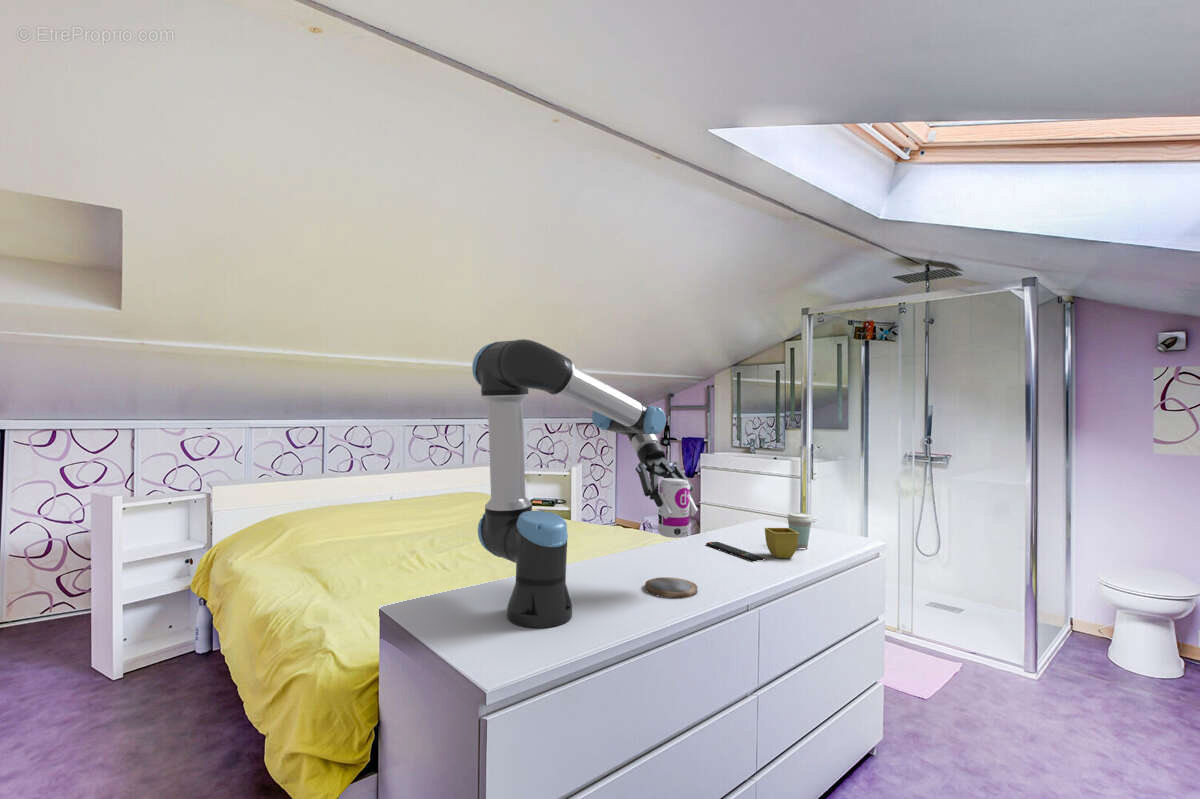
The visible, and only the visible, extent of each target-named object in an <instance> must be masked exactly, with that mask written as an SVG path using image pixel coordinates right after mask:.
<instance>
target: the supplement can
mask: <svg viewBox="0 0 1200 799" xmlns="http://www.w3.org/2000/svg"><path fill="white" fill-rule="evenodd" d="M688 480H689V479H688ZM688 480H686V479H680V478H664V477H663V478H662V479H661V481H660V483H659V484H658V489H659V492H658V494H659V493H661V492H662V494H663V496H664V498H665V500H666V502H667V504H668V506H669V508H670V510H671V512H672V513H671V514H670V516H669V517H668V518H667V519H665V518H664V516H663V514H662V512H661V510H660V508H659V507H658V522H657V523H658V524H657V525H658V526H657V527H658V528H657V530H658V531H657V532H658V533H659V534H660V535H661V536H663V537H667V538H672V539H673V538H674V539H675V538H676V539H677V538H678V539H679V538H685V537H686V536H688V535H689V533H690V513H689V504H690V493H691V492H690V485H689V483H688Z"/></svg>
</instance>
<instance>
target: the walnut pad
mask: <svg viewBox="0 0 1200 799" xmlns="http://www.w3.org/2000/svg"><path fill="white" fill-rule="evenodd" d="M644 586H645V591H646V590H647V591H648V592H647V591H646V592H647V593H649V594H651V595H653V594H654V595H653V596H656V595H659V596H658V597H660V596H663V597H662V598H665V597H672V598H671V599H686V598H685V597H687V598H691V597H693V596H695V595H696V594H697V593H698V585H697V584H696V583H695V582H694V581H690V580H688V579H684V578H677V577H665V576H664V577H656V578H651V579H649V580H648V579H647V581H645V584H644ZM683 597H684V598H683Z"/></svg>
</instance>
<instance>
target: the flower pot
mask: <svg viewBox="0 0 1200 799" xmlns="http://www.w3.org/2000/svg"><path fill="white" fill-rule="evenodd" d="M764 534H765V543H766V546H767V549H768V551H769V553H770V554H771V556H773V555H774V556H773V557H775V558H776V557H778V558H777V559H791V558H793V556H794V554H795V553H796V551H797V550H798V549H797V544H798V537H799V533H798V532H796V531H794V530H792V529H790V528H789V527H764Z"/></svg>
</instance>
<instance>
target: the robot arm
mask: <svg viewBox="0 0 1200 799" xmlns="http://www.w3.org/2000/svg"><path fill="white" fill-rule="evenodd" d="M472 360H473V361H472V366H471V368H472V375H473V378H474V379H475V381H476V383H477V384H478V385H479V386H480V389H481V390H480V392H481V393H480V395H481V396H480V397H481V398H482V399H483V400H485V401H484V402H486V403H487V412H488V414H487V415H488V419H487V421H488V444H489V446H488V449H489V479H490V499H489V501H487V502H486V504H485V505H484V513H483V514H482V517H481V518H480V519H479V522H478V526H477V535H478V540H479V542H480V544H481V546H482V547H483V548H484V549H485V550H486V551H487V552H489V553H491V554H492V555H493V556H495V557H498V558H502V559H505V560H508V561H509V562H510V561H511V562H512V563H515V566H516V567H515V584H514V586H513V589H512V591H511V595H510V598H509V599H508V600H509V601H508V604H507V606H506V607H507V608H506V618H507V619H508V621H510V622H511V623H513V624H515V625H518V626H521V627H526V628H541V629H542V628H551V627H556V626H560V625H563V624H565V623H568V622H569V621H570V620H571V619H572V617H573V604H572V601H571V597H570V594H569V590H568V586H567V559H568V558H567V556H568V555H567V553H568V537H569V535H568V526H567V525H568V524H567V522H566V520H565V518H563V517H562V516H560V515H559V514H556V513H554V512H551V511H550V512H549V511H545V510H533V506H532V505H533V503H532V501H531V500H529V499H528V497H526V496H527V495H526V478H525V477H526V475H525V474H526V473H525V472H526V471H525V470H526V468H525V465H526V464H525V443H524V442H525V441H524V440H525V438H524V436H525V435H524V409H523V406H524V405H523V404H524V401H525V400H526V398H528V397H529V389H533V390H540V391H544V392H546V393H548V394H550V395H552V396H553V395H554V396H556V395H562V396H563V397H566V398H568V399H570V400H572V401H573V402H575V403H578V404H580V405H582V406H584V407H586V408H588V409H591V410H592V415H591V421H592V423H593V426H594V427H596V428H597V429H601V430H603V431H609V432H613V433H618V434H620V435H624V436H627V438H628V440H629V441H630V443H631V445H632V448H633V450H634V452H635V454H636V456H637V458H638V460H639V462H638V464H637V465H636V467H635V471H636V473H637V474H638V477H639V480H640V483H641V484H640V485H641V487H642V491H643V494H644V497H649V499H650V501H651V500H652V501H654V503H655V505H656V506H657V507H658V509H659V508H660V510H661V512H662V514H663V516H664V518H665V519H667V518H668V517H669V516H670V514H671V513H672V512H671V510H670V508H669V506H668V504H667V502H666V500H665V498H664V496H663V494H662V492H661V493H659V478H660V477H662V478H663V479H664V478H680V479H686V480H688V483H689V485H690V504H689V516H690V517H694V516H695V515H696V513H698V511H699V509H698V507H697V506H696V504H695V499H694V498H693V496H692V493H691V492H692V491H693V490H694V488H695V487H694V485H693V484H692V482H691V481H690V480H689V478H688V477H687V476H686V474H685V473H684V471H683V470H682V469H681V468H680V465H679V463H678V461H674V462H670V461H668V460H667V458H666V453H665V451H664V449H663V446H662V445H661V443H660V441H659V439H658V438H657V435H658V434H660V433H661V432H663V430H664V429H665V427H666V422H667V416H666V413H665V411H664V409H662V408H661V407H658V406H654V405H649V406H648V405H646V404H644V403H642V402H640V401H638V400H636V399H634V398H632V397H630V396H629V395H627V394H625V393H624V392H621V391H620V390H618V389H616V388H614V387H612V386H611V385H609V384H607V383H606V382H604V381H602V380H600V379H598V378H596V377H594V376H593V375H591V374H589V373H587V372H586V371H583V370H581V369H580V368H578V367H576V366H575V365H574V362H573V360H572V359H570V358H569V357H567V356H565V355H563V353H560V352H558V351H556V350H555V349H553V348H551V347H548V346H546V345H544V344H542V343H540V342H537V341H536V340H535V341H534V340H531V339H525V338H523V339H513V340H504V341H503V340H502V341H495V342H492V343H488V344H486V345H484V346H482V347H481V348H480V349H479V350H478V351H477V353H476V354H475V355H474V358H473V359H472Z"/></svg>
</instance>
